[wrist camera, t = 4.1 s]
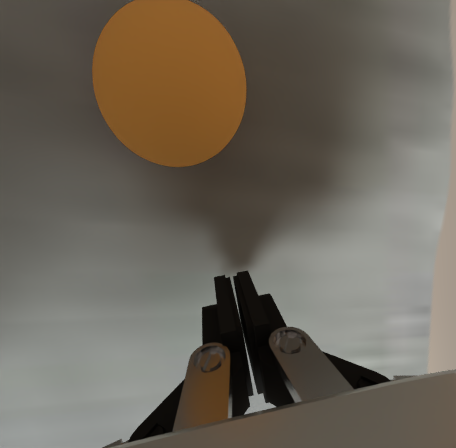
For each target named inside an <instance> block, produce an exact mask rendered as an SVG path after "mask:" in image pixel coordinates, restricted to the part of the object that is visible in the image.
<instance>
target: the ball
mask: <svg viewBox="0 0 456 448" xmlns="http://www.w3.org/2000/svg"><path fill="white" fill-rule="evenodd" d="M92 76H93V87H94V92H95V97H96V100H97V103H98V106H99V109H100V111H101V113H102V115H103V118H104V119H105V121H106V123H107V124H108V126H109V128H110V129H111V130H112V132H113V133H114V134H115V136H116V137H117V138H118V139H119V140H120V141H121V142H122V143H123V144H124V145H125V146H126V147H127V148H129V149H130V150H131V151H132V152H134V153H135V154H137V155H138V156H140V157H142V158H144V159H146V160H148V161H150V162H153V163H156V164H159V165H164V166H169V167H187V166H192V165H196V164H199V163H202V162H204V161H206V160H208V159H210V158H212V157H213V156H215V155H216V154H218V153H219V152H220V151H221V150H222V149H223V148H224V147H225V146H226V145H227V144H228V143H229V142H230V140H231V139H232V138H233V136H234V135H235V133H236V131H237V129H238V127H239V125H240V123H241V120H242V117H243V114H244V109H245V104H246V91H247V90H246V77H245V70H244V66H243V63H242V59H241V57H240V54H239V52H238V49H237V47H236V45H235V43H234V41H233V39H232V38H231V36H230V35H229V33H228V32H227V30H226V29H225V28H224V26H223V25H222V24H221V23H220V22H219V21H218V20H217V19H216V18H215V17H214V16H213V15H212V14H210V13H209V12H208V11H207V10H205V9H204V8H202V7H201V6H199V5H197V4H195V3H193V2H191V1H189V0H134V1H132V2H130V3H128V4H126V5H125V6H124V7H122V8H121V9H119V10H118V11H117V12H116V13H115V14H114V15H113V16H112V17H111V18H110V20H109V21H108V23H107V24H106V25H105V27H104V28H103V30H102V32H101V34H100V36H99V38H98V41H97V44H96V47H95V51H94V56H93V65H92Z"/></svg>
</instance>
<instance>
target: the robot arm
mask: <svg viewBox="0 0 456 448" xmlns="http://www.w3.org/2000/svg"><path fill="white" fill-rule="evenodd" d="M233 279H234V285H235V291H236V297H237V302H238V308H239V313H238V309H237V305H236V301H235V297H234V293H233V288H232V284H231V280H230V277H228V278H225V275H222V276H217V277H214V281H215V290H216V299H217V304H215V305H210V306H206V307H202V342H203V345H202V346H200V347H199V348H197V349H196V350H195V351H194V352H193V354H192V355H191V357H190V359H189V363H188V367H187V372H186V376H185V379H184V380H183V381H182V382H181V383H180V384H179V385H178V386H177V387H176V388H175V390H174V391H173V392H172V393H171V394H170V395H169V396H168V397H167V398H166V399H165V400H164V401H163V402H162V403H161V404H160V405H159V406H158V407H157V408H156V409H155V410H154V411H153V412H152V413H151V414H150V415H149V416H148V417H147V418H146V419H145V420H144V422H143V423H142V424H141V425H140V426H139V427H138V428H137V429H136V430H135V432H134V433H133V434H132V435H131V437H130V439H129V440H128V441H126V442H123V441H122V439H120V440H118V441H116V442H113V443H111V444H109V445H107V446H105V447H103V448H456V370H448V371H442V372H436V373H430V374H424V375H419V376H394V378H393V380H389V379H388V378H386V377H385V376H383V375H381V374H379V373H377V372H375V371H372V370H369V369H367V368H364V367H362V366H359V365H356V364H354V363H351V362H348V361H346V360H343V359H341V358H338V357H335V356H333V355H330V354H328V353H325V352H322V351H321V350H320V348H319V347H318V346H317V345H316V344H315V343H314V341H313V340H312V339H311V338H310V337H309V336H308V334H306V333H305V332H304V331H303V330H301V329H299V328H295V327H287V326H286V324H285V322H284V320H283V318H282V316H281V314H280V312H279V310H278V308H277V306H276V304H275V302H274V300H273V298H272V296H271V295H270V294H265V295H260V296H258V294H257V292H256V289H255V287H254V284H253V282H252V279H251V277H250V275H249V272H248V271H243V272H238V273H237V276H233ZM239 314H240V317H239ZM240 320H241V322H240ZM241 325H242V326H241ZM242 330H243V331H242ZM243 334H244V336H243ZM244 339H245V342H244ZM245 343H246V347H247V351H248V355H249V359H250V363H251V368H252V372H253V376H254V380H255V384H256V388H257V392H258V394H261V393H263V394H264V398H265V402H266V403H269V402H270V403H271V404H273V405H275V406H276V407H275V408H271V409H267V410H262V411H258V412H254V413H250V414H245V415H244V413H245V412H246V410H247V409H248V407H250V403H249V397H248V396H252V395H253V389H252V383H251V377H250V371H249V365H248V359H247V353H246V348H245Z"/></svg>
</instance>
